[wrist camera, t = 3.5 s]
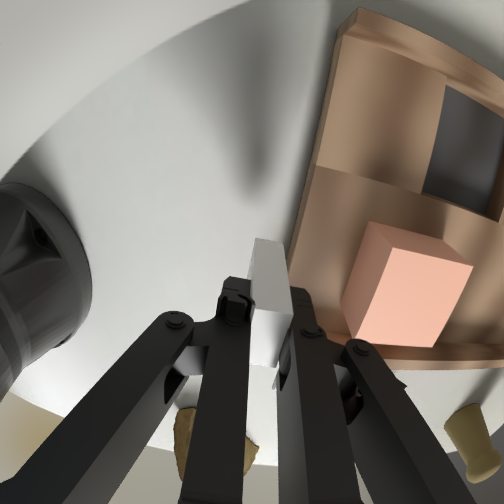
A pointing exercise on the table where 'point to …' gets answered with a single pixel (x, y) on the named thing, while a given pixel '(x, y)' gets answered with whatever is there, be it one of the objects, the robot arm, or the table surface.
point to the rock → (183, 437)
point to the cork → (473, 442)
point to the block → (402, 287)
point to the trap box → (407, 181)
